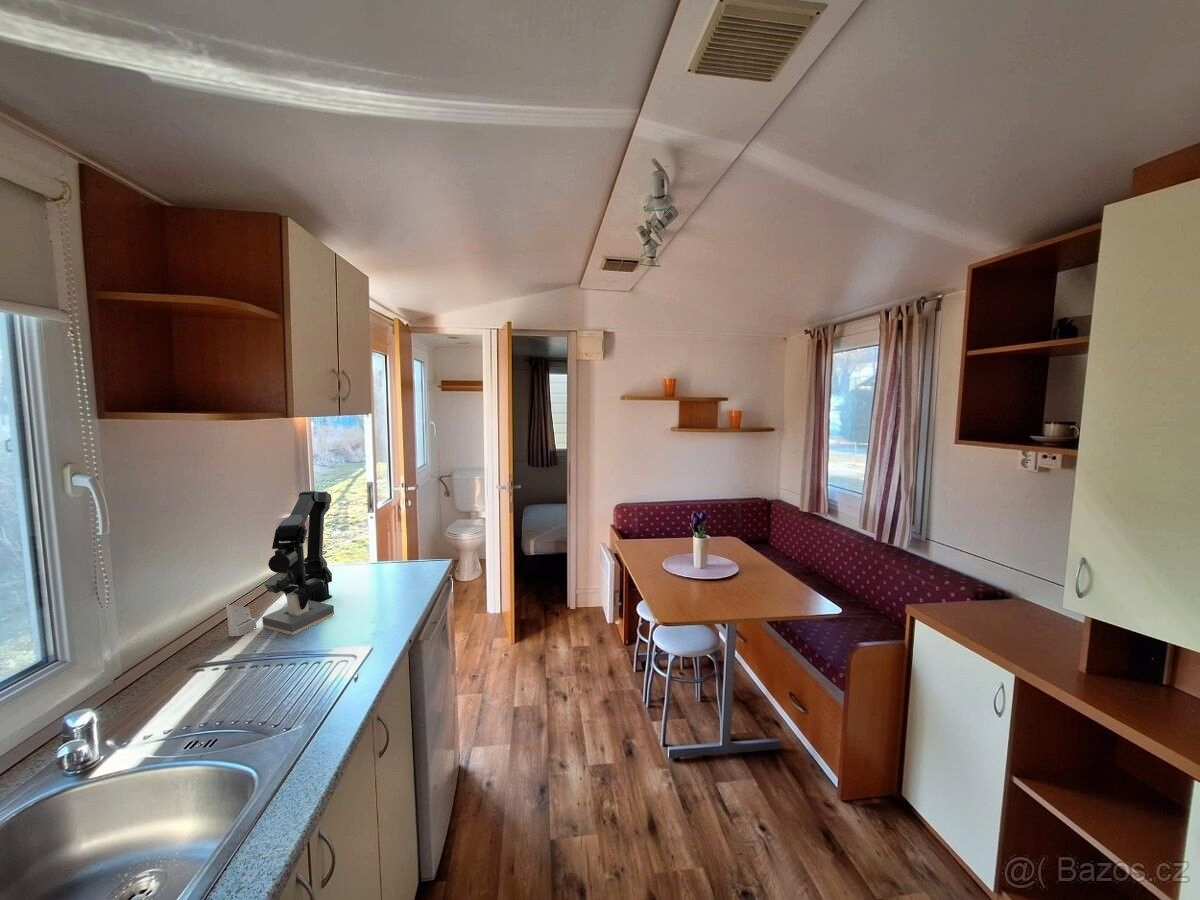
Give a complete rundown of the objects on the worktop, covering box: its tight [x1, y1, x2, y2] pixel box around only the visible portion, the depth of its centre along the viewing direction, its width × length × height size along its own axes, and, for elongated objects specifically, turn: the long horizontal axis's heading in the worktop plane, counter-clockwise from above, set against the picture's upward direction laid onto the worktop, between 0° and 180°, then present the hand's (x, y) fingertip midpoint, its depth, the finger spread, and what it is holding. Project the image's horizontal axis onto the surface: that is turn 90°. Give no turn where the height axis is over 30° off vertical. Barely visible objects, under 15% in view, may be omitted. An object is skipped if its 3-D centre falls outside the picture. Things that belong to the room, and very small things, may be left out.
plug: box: [286, 589, 309, 617], centre depth 152 cm, size 4×4×9 cm
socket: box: [261, 600, 335, 636], centre depth 152 cm, size 14×14×4 cm
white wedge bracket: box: [225, 604, 257, 637], centre depth 145 cm, size 4×10×9 cm, turn 168°
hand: (298, 608), depth 152 cm, fingers closed on plug, 4 cm apart
